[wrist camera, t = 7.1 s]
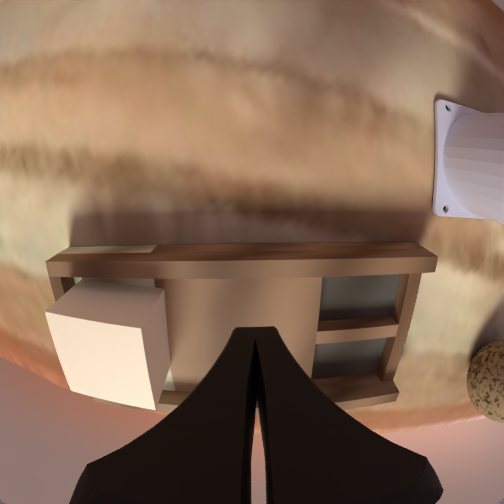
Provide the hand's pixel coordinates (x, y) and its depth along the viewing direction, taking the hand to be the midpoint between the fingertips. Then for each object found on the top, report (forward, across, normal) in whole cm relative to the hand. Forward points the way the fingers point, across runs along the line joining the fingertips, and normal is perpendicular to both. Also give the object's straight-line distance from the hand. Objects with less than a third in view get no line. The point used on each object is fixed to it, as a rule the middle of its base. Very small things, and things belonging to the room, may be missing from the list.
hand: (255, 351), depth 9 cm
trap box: (+9, +1, +5) cm, 11 cm away
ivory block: (+8, +9, +4) cm, 12 cm away
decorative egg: (+10, -23, +12) cm, 27 cm away
